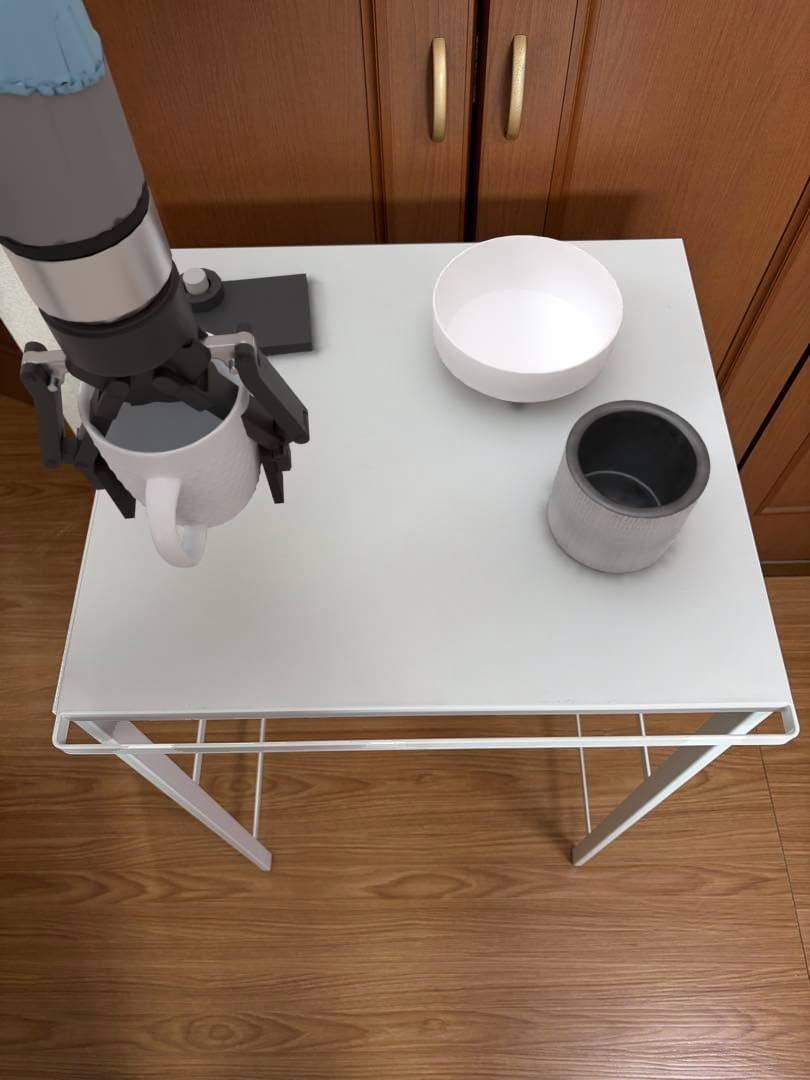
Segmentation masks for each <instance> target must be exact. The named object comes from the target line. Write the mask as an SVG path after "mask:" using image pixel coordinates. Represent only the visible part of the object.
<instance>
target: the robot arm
mask: <svg viewBox="0 0 810 1080" xmlns="http://www.w3.org/2000/svg"><path fill="white" fill-rule="evenodd" d="M0 246H1V248H2V250H3V251H4V253H5V255H6V257H7V259H8V261H9V262H10V264H11V266H12V268H13V270H14V271H15V273H16V275H17V277H18V279H19V280H20V282H21V284H22V285H23V287H24V289H25V291H26V293H27V295H28V296H29V299H31V301H32V302H33V303H34V305H35V306H36V307H37V309H38V312H39V314H40V315H41V317H42V319H43V321H44V323H45V324H46V325H47V327H48V329H49V331H50V333H51V334H52V336H53V338H54V339H55V341H56V342H57V344H58V347H59V348H60V349H54V350H52V349H51V350H48V348H47V347H46V346H45V345H44V344H43V343H41V342H39V341H35V340H34V341H33V340H31V341H30V340H29V341H27V342H26V343H25V344H24V348H23V354H22V359H21V365H20V366H21V367H20V372H19V380H20V382H21V383H22V385H23V386H24V388H25V389H26V390H27V392H28V393H29V395H30V396H31V398H32V399H33V405H34V412H35V419H36V428H37V435H38V441H39V442H38V443H39V449H40V457H41V463H42V465H43V466H44V467H46V468H48V469H59V468H61V467H62V464H63V465H72V467H73V468H74V469H75V470H77V471H80V472H81V473H82V475H83V476H84V477H85V479H86V481H87V483H88V484H89V485H90V486H91V488H93V489H95V490H96V491H103V490H104V491H105V492H106V493H107V495H108V496H109V498H110V499H111V500H112V502H113V503H114V505H115V506H116V508H117V509H118V511H119V512H120V514H121V515H122V517H123V518H124V520H127V519H128V520H129V519H135V518H136V509H137V499H135V498H134V497H133V496H132V494H131V493H130V492H129V491H128V490H127V489H126V488H125V487H124V485H123V484H122V483H121V481H119V480H118V479H117V477H116V475H115V473H114V472H113V471H112V470H111V469H110V468H109V466H108V464H107V462H106V460H105V459H104V458H103V457H102V456H101V454H100V451H99V449H98V448H97V447H96V446H95V445H94V442H93V440H92V438H91V436H90V435H89V433H88V431H87V430H86V428H85V426H84V424H83V422H82V421H81V422H80V425H79V427H77V428H76V436H75V437H68V436H66V432H65V430H66V429H65V421H64V419H65V418H64V409H63V395H62V386H63V385H64V383H65V378H66V375H67V374H68V373H69V374H70V375H71V376H72V377H74V378H75V379H77V380H79V381H80V382H81V381H83V382H85V383H87V384H88V385H90V386H92V387H94V388H95V390H94V393H93V395H92V398H91V401H90V423H91V424H92V425H93V426H94V427H95V428H96V429H97V430H98V431H99V432H100V433H101V434H102V435H103V436H104V437H106V435H107V432H108V430H109V428H110V426H111V423H112V421H113V420H115V419H116V417H117V415H118V413H119V411H120V409H121V406H122V404H123V402H126V403H130V404H131V406H140V405H146V404H149V403H153V402H165V403H172V402H181V401H182V402H184V403H186V404H187V405H189V406H190V407H192V408H194V409H195V410H197V411H199V412H202V411H204V410H207V411H208V412H210V413H212V414H213V415H215V416H216V417H218V418H219V419H221V420H223V421H224V420H225V419H226V417H227V416H228V415H229V413H230V412H231V410H232V408H233V406H234V404H235V402H236V399H237V395H238V390H239V386H238V385H236V384H235V383H233V382H232V381H230V380H229V379H228V378H226V377H225V376H223V375H222V374H220V373H219V372H218V370H217V368H216V366H215V364H214V363H213V362H212V361H211V359H219V360H221V361H222V362H224V364H225V365H226V366H227V367H228V368H229V372H230V373H231V374H233V375H236V374H239V377H240V379H241V381H242V383H243V384H244V386H245V387H246V388H247V389H248V390H249V392H250V393H251V394H249V404H248V407H247V409H246V411H245V412H244V413H243V414H242V415H241V419H242V422H243V425H244V428H245V430H246V434H247V436H248V437H249V438H251V439H253V440H254V441H256V442H257V443H259V444H260V459H261V462H262V465H261V466H262V468H263V471H264V474H265V479H266V481H267V484H268V487H269V490H270V494H271V497H272V500H273V503H274V505H279V504H285V488H284V487H285V486H284V485H285V484H284V472H290V471H291V470H292V467H293V464H292V463H293V462H292V451H291V450H292V449H291V446H290V444H291V443H294V444H297V445H305V444H307V443H309V442H310V439H311V435H310V421H309V409H308V408H307V407H306V406H305V405H304V403H303V402H302V400H300V398H299V397H298V395H297V394H296V393H295V391H293V389H292V388H291V387H290V386H289V384H288V383H287V381H285V378H283V377H282V376H281V374H280V373H279V371H277V369H276V368H275V366H274V365H273V364H272V362H271V361H270V360H269V358H267V356H266V355H264V354H263V353H262V352H261V350H260V349H259V347H258V343H257V339H256V335H255V331H254V328H253V326H252V325H251V324H249V323H246V322H241V323H238V324H236V325H235V327H234V334H227V335H215V336H209V335H208V334H207V333H206V332H205V331H204V330H203V329H202V328H201V327H199V325H198V324H197V323H196V321H195V318H194V315H193V312H192V309H191V306H190V304H189V301H188V298H187V295H186V292H185V289H184V286H183V283H182V281H181V278H180V275H181V274H180V272H179V269H178V266H177V264H176V263H175V261H174V259H173V252H172V250H171V247H170V245H169V241H168V238H167V235H166V233H165V230H164V226H163V223H162V221H161V218H160V215H159V212H158V209H157V207H156V203H155V200H154V198H153V195H152V191H151V188H150V186H149V185H148V182H147V179H146V176H145V174H144V171H143V166H142V164H141V161H140V158H139V155H138V152H137V148H136V146H135V143H134V140H133V137H132V134H131V131H130V128H129V125H128V122H127V119H126V115H125V113H124V109H123V107H122V104H121V101H120V97H119V95H118V92H117V88H116V85H115V81H114V80H113V76H112V73H111V71H110V67H109V64H108V61H107V58H106V55H105V51H104V47H103V44H102V41H101V37H100V35H99V33H98V32H97V31H96V30H95V29H94V27H93V25H92V23H91V20H90V17H89V15H88V13H87V10H86V7H85V4H84V2H83V0H0Z"/></svg>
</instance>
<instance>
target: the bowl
mask: <svg viewBox="0 0 810 1080" xmlns="http://www.w3.org/2000/svg"><path fill="white" fill-rule="evenodd" d="M431 295H432V296H431V297H432V301H431V302H432V303H431V304H432V306H431V307H432V309H431V312H432V313H431V314H432V315H431V317H432V319H431V320H432V322H431V323H432V336H433V341H434V345H435V349H436V352H437V354H438V356H439V357H440V359H441V361H442V363H443V365H444V366H445V367H446V368H447V369H448V370H449V372H450V373H451V374H452V375H453V376H454V377H455V378H457V379H458V380H459V381H461V382H462V383H463V384H465V386H467V387H469V388H471V389H473V390H474V391H476V392H478V393H481V394H483V395H486V396H487V397H488V396H489V397H491V398H494V399H498V400H501V401H507V402H513V403H539V402H546V401H554V400H556V399H560V398H562V397H565V396H569V395H571V394H573V393H575V392H577V391H578V390H580V389H582V388H585V387H586V386H587V385H588V384H589V383H591V382H592V381H594V379H595V378H597V377H598V375H599V374H600V372H601V371H602V369H604V367H605V366H606V364H607V362H608V360H609V357H610V355H611V353H612V351H613V348H614V346H615V343H616V341H617V338H618V336H619V333H620V330H621V328H622V325H623V319H624V310H625V308H624V307H625V306H624V302H623V296H622V292H621V290H620V288H619V286H618V283H617V281H616V279H615V278H614V276H612V274H611V272H610V271H609V270H608V269H607V268H606V267H605V266H604V265H603V264H602V263H601V262H600V261H599V260H598V259H597V258H595V257H594V256H592V255H591V254H589V253H587V252H586V251H584V250H583V249H581V248H579V247H576V246H575V245H573V244H570V243H567V242H565V241H562V240H558V239H554V238H550V237H545V236H537V235H516V234H515V235H506V236H501V237H495V238H491V239H488V240H484V241H481V242H478V243H476V244H473V245H472V246H470V247H468V248H465V249H464V250H463V251H461V252H459V254H457V255H456V256H454V257H453V258H452V259H451V260H450V261H448V263H447V264H446V265H445V266H444V267H443V269H442V271H441V272H440V274H439V276H438V277H437V279H436V280H435V283H434V286H433V290H432V294H431Z"/></svg>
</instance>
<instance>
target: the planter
mask: <svg viewBox="0 0 810 1080" xmlns="http://www.w3.org/2000/svg"><path fill="white" fill-rule="evenodd" d="M708 450H709V449H708V447H707V445H706V443H705V441H704V439H703V438H702V436H701V434H700V433H699V432H698V430H696V428H695V427H694V426H693V425H692V424H691V423H690V422H688V420H686V418H684V417H682V416H681V415H679V414H678V413H677V412H675V411H673V410H671V409H669V408H667V407H664V406H662V405H660V404H657V403H654V402H649V401H645V400H636V399H620V400H613V401H609V402H605V403H602V404H599V405H597V406H595V407H592V408H591V409H589V410H588V411H587V412H585V413H584V414H582V415H581V416H580V417H579V418H578V419H577V420H576V422H575V423H574V424H573V426H572V427H571V429H570V431H569V433H568V436H567V438H566V440H565V444H564V449H563V452H562V455H561V458H560V461H559V464H558V468H557V470H556V474H555V476H554V480H553V483H552V486H551V489H550V491H549V495H548V500H547V513H546V514H547V515H546V516H547V522H548V525H549V528H550V531H551V534H552V536H553V538H554V540H556V542H557V544H558V545H559V546H560V547H561V549H562V550H563V551H564V552H565V553H566V554H567V555H569V556H570V557H571V558H572V559H574V560H575V561H577V562H578V563H580V564H581V565H584V566H586V567H589V568H590V569H594V570H597V571H600V572H604V573H605V572H606V573H612V574H613V573H614V574H624V573H625V574H626V573H632V572H637V571H640V570H643V569H645V568H647V567H650V566H651V565H653V564H655V563H656V562H658V560H660V559H661V558H662V557H663V556H664V555H665V554H666V553H667V552H668V550H669V549H670V548H671V546H672V544H673V543H674V542H675V540H676V538H677V537H678V535H679V533H680V531H681V529H682V528H683V526H684V525H685V523H686V521H687V519H688V518H689V516H690V515H691V512H693V510H694V508H695V506H696V504H697V503H698V501H699V499H700V498H701V497H702V495H703V493H704V492H705V490H706V488H707V486H708V483H709V480H710V475H711V457H710V454H709V451H708Z"/></svg>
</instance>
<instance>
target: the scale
mask: <svg viewBox="0 0 810 1080" xmlns="http://www.w3.org/2000/svg"><path fill="white" fill-rule="evenodd" d="M199 268H200V269H202V270H203V271H204V272H205V274H206V277H207V280H208V283H209V288H208V290H207V291H206V292H204V293H202V294H198V295H193V294H190V293H189V292H188V291H187V289H186V286H185V283H184V280H183V274H184V273H185V271H184V272H182V273H181V274H179V275H180V278H181V281H182V283H183V286H184V289H185V292H186V295H187V298H188V301H189V304H190V306H191V309H192V312H193V315H194V318H195V321H196V323H197V324H198V325H199V327H201V328H202V329H203V330H204V331H205V332H208V333H210V334H213V335H227V334H234V327H235V325H236V324H238V323H241V322H246V323H249V324H251V325H252V326H253V328H254V331H255V335H256V339H257V343H258V347H259V349H260V350H261V352H262V353H263V354H264V355H265V356H269V355H270V356H272V355H279V354H280V355H281V354H290V353H302V352H310V351H311V352H312V351H313V350H314V349H313V339H312V338H313V337H312V323H311V313H310V312H311V311H310V301H309V299H310V298H309V285H308V278H307V273H304V272H303V273H295V274H285V275H283V274H282V275H274V276H273V275H272V276H264V277H254V278H253V277H252V278H242V279H232V280H222V277H220V275H219V274H218V273H217V272H216V271H214V270H212V269H209V268H206V267H199Z"/></svg>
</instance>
